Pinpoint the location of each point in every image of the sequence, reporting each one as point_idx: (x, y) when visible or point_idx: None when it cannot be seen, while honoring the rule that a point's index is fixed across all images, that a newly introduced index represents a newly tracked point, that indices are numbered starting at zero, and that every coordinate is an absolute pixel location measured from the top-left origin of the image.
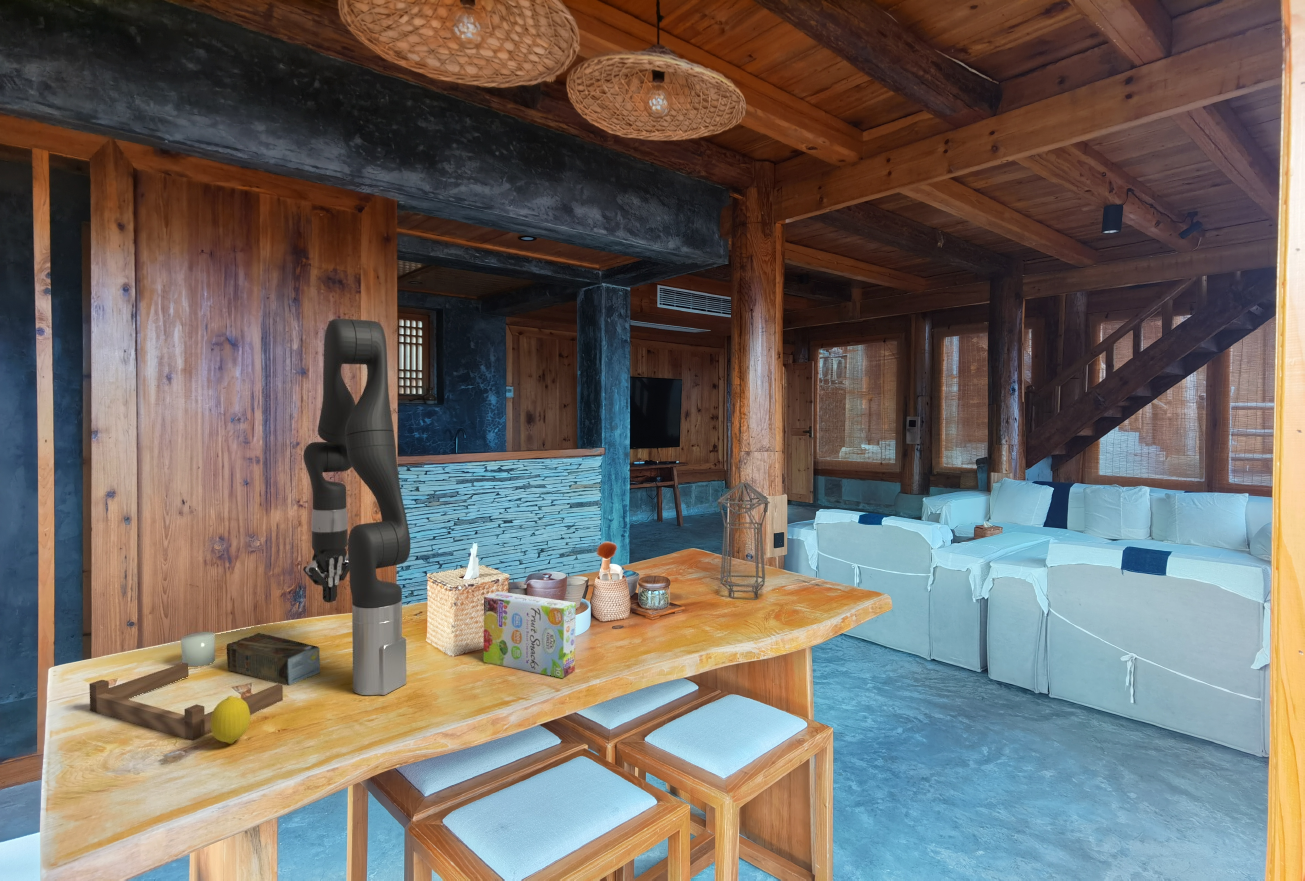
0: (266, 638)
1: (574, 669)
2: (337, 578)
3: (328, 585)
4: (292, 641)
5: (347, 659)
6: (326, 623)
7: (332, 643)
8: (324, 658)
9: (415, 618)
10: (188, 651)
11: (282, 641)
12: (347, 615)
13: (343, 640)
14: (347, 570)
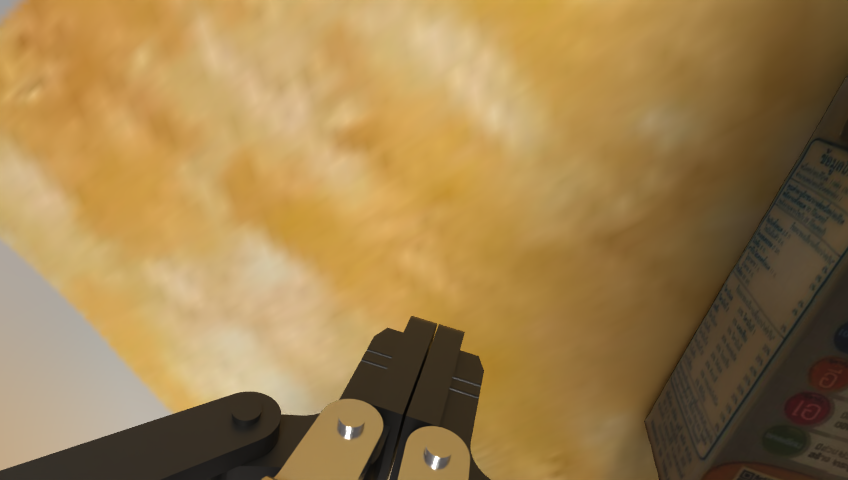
0: (791, 460)
1: None
2: (322, 457)
3: (469, 459)
4: (845, 307)
5: (634, 17)
6: (221, 377)
7: (418, 235)
8: (624, 157)
9: (6, 29)
10: None
11: (845, 362)
12: (121, 347)
13: (371, 208)
14: (113, 457)
